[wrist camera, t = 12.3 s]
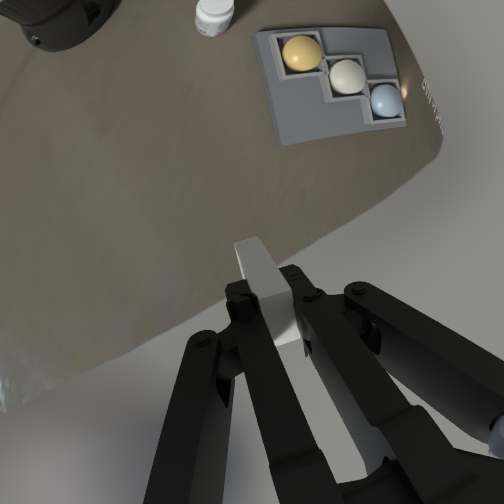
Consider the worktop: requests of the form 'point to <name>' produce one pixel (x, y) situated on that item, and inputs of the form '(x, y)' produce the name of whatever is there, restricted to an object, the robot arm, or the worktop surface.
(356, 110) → the panel
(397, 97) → the slate button
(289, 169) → the worktop surface
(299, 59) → the ochre button
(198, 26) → the pill bottle
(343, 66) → the ivory button
